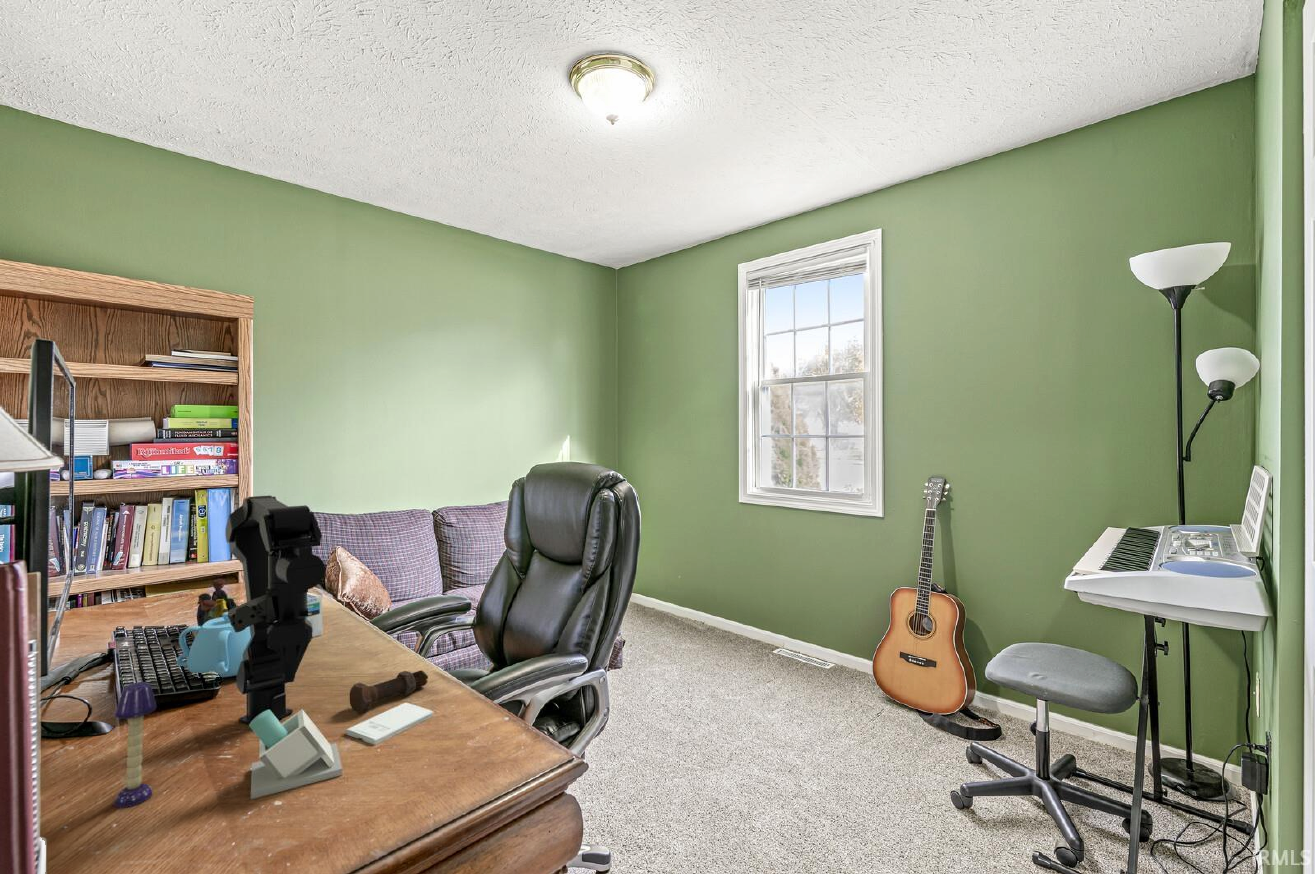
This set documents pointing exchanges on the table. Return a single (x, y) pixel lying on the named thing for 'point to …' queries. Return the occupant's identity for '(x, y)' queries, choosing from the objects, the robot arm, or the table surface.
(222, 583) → the doll family
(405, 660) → the table surface
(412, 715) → the external hard drive
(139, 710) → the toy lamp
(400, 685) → the bolt
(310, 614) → the light bulb box
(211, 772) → the table surface
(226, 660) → the light blue teapot
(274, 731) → the dowel
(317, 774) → the socket
